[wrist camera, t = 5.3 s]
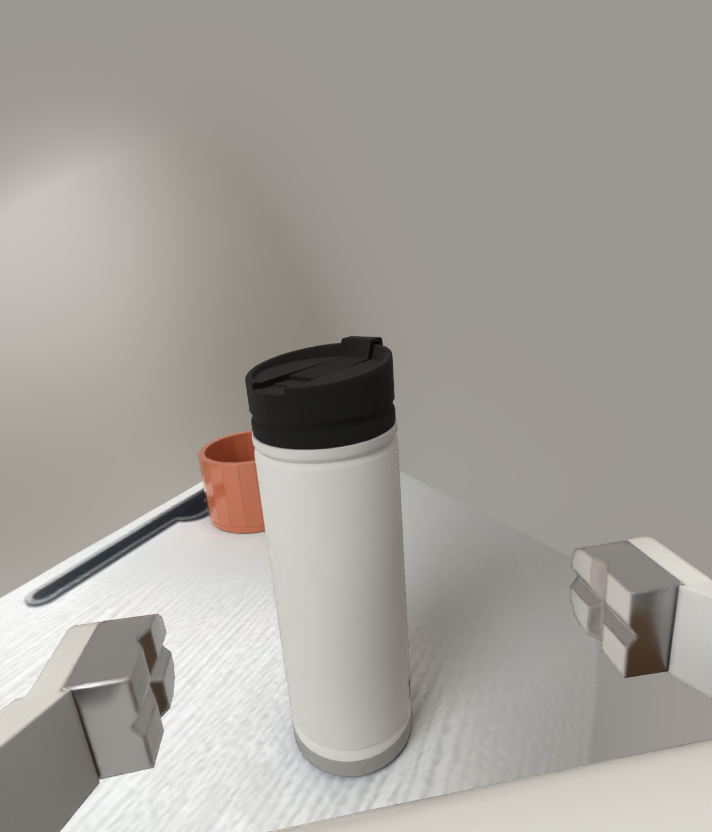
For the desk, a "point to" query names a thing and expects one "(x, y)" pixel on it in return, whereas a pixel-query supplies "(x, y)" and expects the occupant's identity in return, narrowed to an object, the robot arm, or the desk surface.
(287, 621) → the travel mug
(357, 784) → the desk surface
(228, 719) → the desk surface
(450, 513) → the desk surface
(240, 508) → the holder
